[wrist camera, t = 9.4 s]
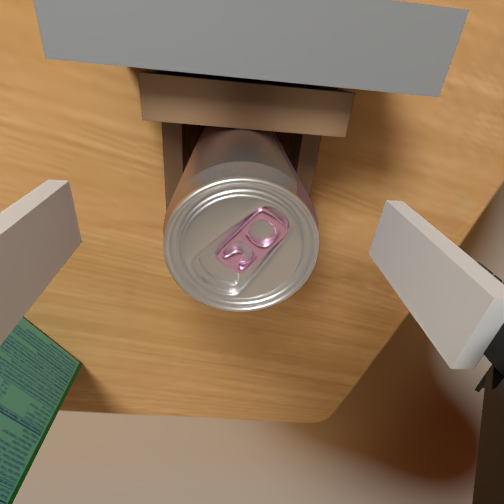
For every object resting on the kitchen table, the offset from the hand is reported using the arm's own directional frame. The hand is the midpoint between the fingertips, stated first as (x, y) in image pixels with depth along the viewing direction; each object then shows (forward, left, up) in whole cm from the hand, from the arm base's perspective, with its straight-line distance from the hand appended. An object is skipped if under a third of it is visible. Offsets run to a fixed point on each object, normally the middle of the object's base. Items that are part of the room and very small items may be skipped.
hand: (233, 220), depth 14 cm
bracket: (0, +1, -12) cm, 12 cm away
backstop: (0, +7, -12) cm, 14 cm away
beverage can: (0, 0, -13) cm, 13 cm away
